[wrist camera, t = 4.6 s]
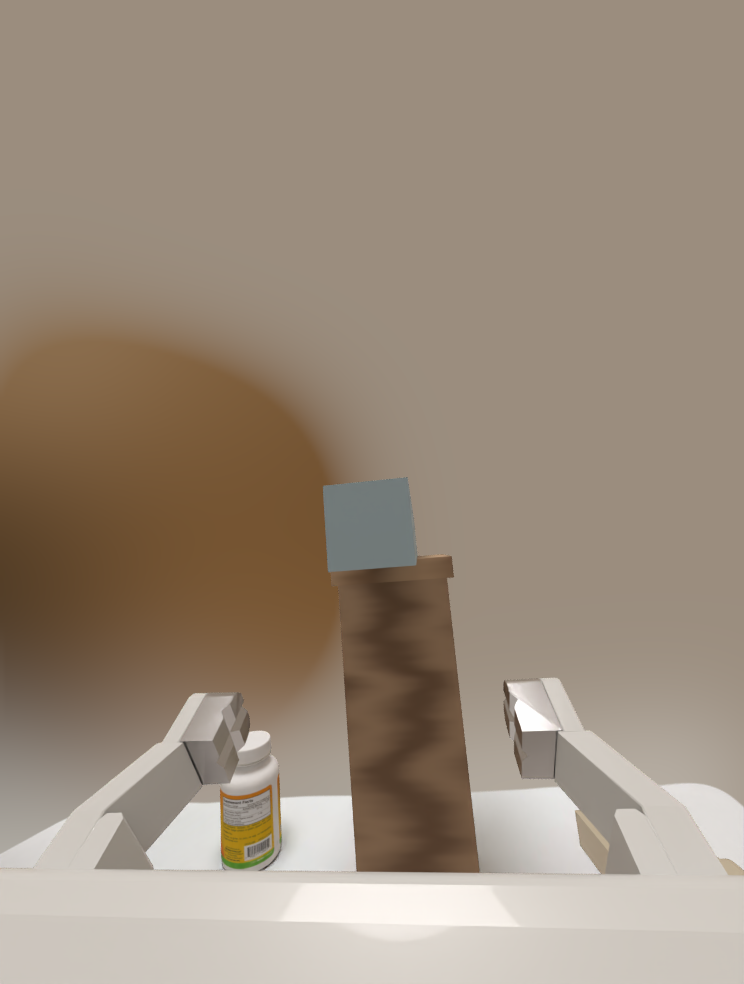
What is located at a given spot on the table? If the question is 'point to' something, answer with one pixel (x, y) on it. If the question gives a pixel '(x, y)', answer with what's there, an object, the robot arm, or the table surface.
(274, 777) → the supplement bottle
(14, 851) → the table surface
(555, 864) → the table surface
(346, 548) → the batten
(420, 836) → the tall wooden block
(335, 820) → the table surface
